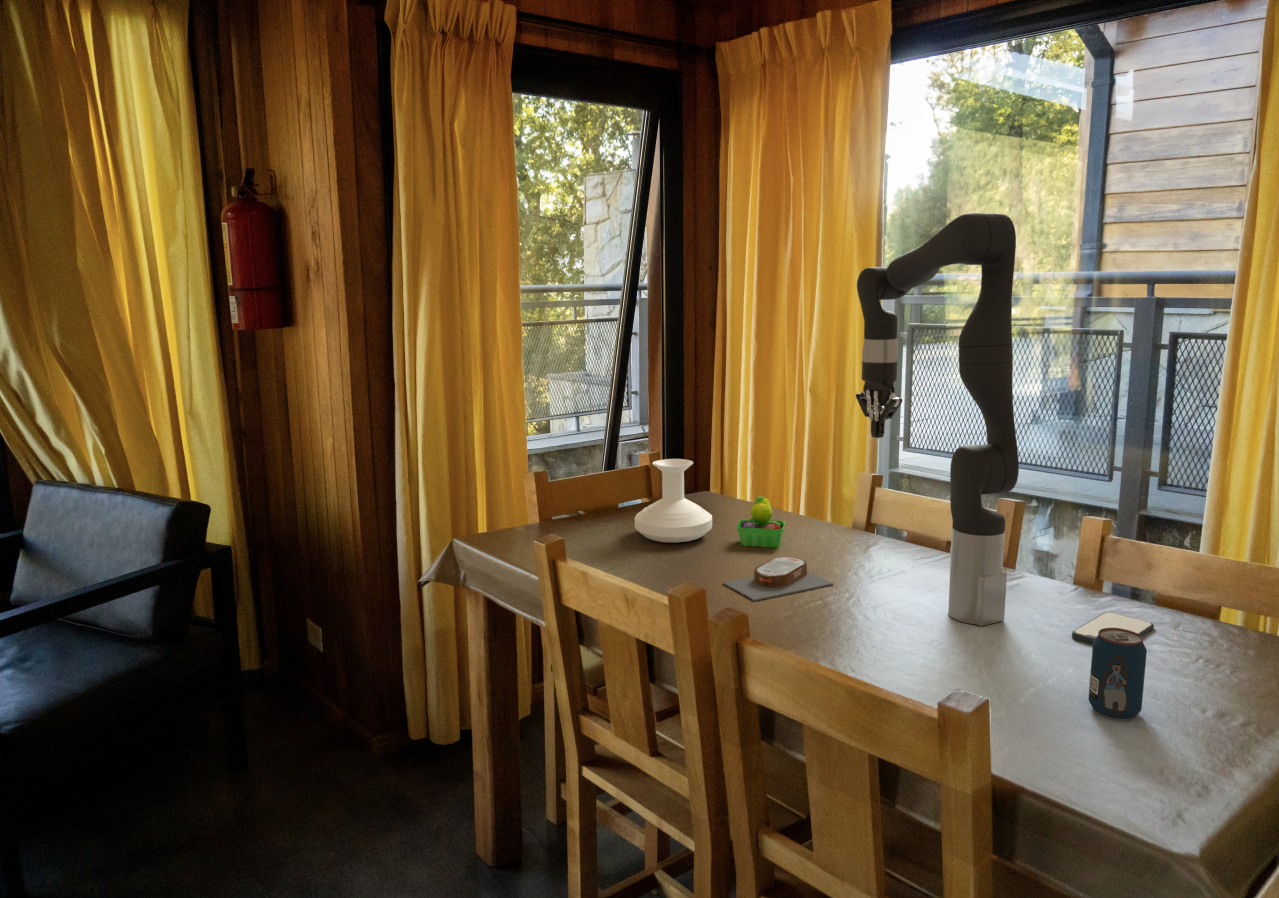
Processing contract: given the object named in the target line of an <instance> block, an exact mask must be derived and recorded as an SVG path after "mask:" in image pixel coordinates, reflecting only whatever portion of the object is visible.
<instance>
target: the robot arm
mask: <svg viewBox="0 0 1279 898" xmlns="http://www.w3.org/2000/svg"><path fill="white" fill-rule="evenodd" d="M1016 249H1017V235H1016V228H1015V225H1014V222H1013V220H1012V218H1010V217H1009V216H1008V215H1007V214H1004V213H994V212H968V213H967V212H966V213H963V214H961V215H959V216H956V218H954V219H952V220H951V221H950V222H948V223H947V224H946V225H944V227H942V228H941V229H939V230H938V232H936V233H935V234H934V235H932V237H930V238H928V240H926V241H925V242H924V243H923V244H921V245H919V246H918V247H916V248H915V249H912V250H910V251H908V252H906V253H904V254H902V255H901V256H897V257H896V258H895V259H893V260H892V261H891V262H890V263H889V264H888V265H887V266H869V267H866V268H864V269H863V270H861V271H860V273H859V275H858V277H857V281H856V290H857V295H858V299H859V302H860V306H861V312H862V317H863V331H864V332H863V343H862V351H861V352H862V353H861V356H862V357H861V380H862V381H863V382H864V384H863V386H862V389H863V390H861V392H859V393H855V397H856V398H855V399H856V400H857V403H858V405H859V407H860V409H861V411H862V413H863V416H864V417H865V418H869V421H870V434H871V437H872V438H875V439H881V438H883V437H884V435H885V428H886V427H885V424H886V421H887V420H891V419H893V417H894V415H895V414H896V412H897V411H898V409H899V408H900V406H901V405H902V403H903V398H902V397H898V396H897V395H896V394H895V393H896V392H895V391H896V389H895V386H894V383H895V382H896V381H897V380H898V379H897V378H898V356H899V353H898V351H899V349H898V348H899V347H898V323H899V322H898V320H899V319H898V315H897V314H896V313H895V312H893V311H890V310H886V309H883V307H882V304H881V301H888V300H889V301H890V300H891V301H892V300H898V299H901V298H903V297H905V296H906V295H907V294H908V293H909V292H910V291H911V290H912V289H914V288H916V287H919V286H920V285H923V284H925V283H928V282H929V281H930V280H932V279H933V278H934V277H935V276H936V275H937V273H938V272H939V270H940V269H941V268H942V267H946V266H951V265H964V266H967V265H968V266H981V281H980V290H979V295H978V298H977V300H976V303H975V304H974V307H973V309H972V311H971V312H970V314H969V315H968V318H967V319H966V321H965V323H964V325H963V327H962V328H961V331H960V333H959V338H958V368H959V369H958V371H959V375H960V376H959V377H960V378H961V381H962V383H963V385H964V387H965V388H966V390H967V391H968V394H970V397H971V398H972V399H973V401H974V402H975V404H976V406H977V407H978V409H979V410H980V413H981V415H982V416H983V419H984V420H983V421H984V424H985V430H986V440H987V441H986V444H971V445H969V444H968V445H962V446H959V447H957V448H956V449H955V451H954V452H953V455H952V456H951V461H950V467H949V468H950V469H949V470H950V471H949V472H950V473H949V478H950V479H949V481H950V504H949V505H950V513H951V518H952V519H951V520H952V525H951V526H952V527H951V528H952V529H951V530H952V531H951V543H950V545H951V546H950V548H951V549H950V565H949V566H950V567H949V568H950V569H949V584H948V585H949V586H948V587H949V589H948V611H947V614H948V615H949V616H950V617H951V618H952V619H953V620H956V621H959V622H961V623H964V624H965V623H966V624H970V625H977V626H979V627H984V626H988V625H991V624H995V623H999V622H1004V621H1005V614H1006V613H1005V611H1006V596H1007V579H1008V573H1007V572H1006V571H1004V570H1003V569H1004V568H1003V567H1004V554H1005V553H1004V550H1005V536H1006V534H1005V533H1006V519H1005V517H1004V514H1001V513H1000V512H998V511H995V510H992V509H988V508H985V507H984V506H983V504H982V495H992V494H1005V493H1009V492H1011V491H1012V490H1013V489H1014V488H1015V487H1016V484H1017V483H1018V479H1019V471H1020V468H1019V467H1020V463H1019V451H1018V442H1017V434H1016V427H1015V426H1016V424H1015V417H1014V416H1015V415H1014V414H1015V413H1014V397H1013V393H1014V392H1013V371H1014V370H1013V369H1014V368H1013V367H1014V365H1013V362H1014V358H1013V357H1014V354H1013V352H1014V351H1013V349H1014V348H1013V334H1012V332H1013V331H1012V324H1013V323H1012V315H1013V312H1012V311H1013V310H1012V309H1013V308H1012V307H1013V304H1012V303H1013V283H1014V274H1015V273H1014V272H1015V260H1016V252H1017V251H1016Z"/></svg>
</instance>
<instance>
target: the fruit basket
mask: <svg viewBox="0 0 1279 898" xmlns="http://www.w3.org/2000/svg"><path fill="white" fill-rule="evenodd" d="M750 512H751V518H750V519H740V520H739V521H738V523H737V525H736V530H737V532H738V535H739V540H740V545H741V546H742V545H744V546H743V547H756V546H760V547H761V546H762V547H763V548H779V547H780V543H781V539H782V536H783V533H784V528H785V524H786V521H785V520H772V517H773V509H772V507H771V502H770V501H769V499H767V498H766V496H757V497H756V499H755V501H754V502H753V504H752V506H751V508H750Z"/></svg>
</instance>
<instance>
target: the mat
mask: <svg viewBox="0 0 1279 898" xmlns="http://www.w3.org/2000/svg"><path fill="white" fill-rule="evenodd" d="M753 579H754V575H753V576H749V577H743V578H739V579H732V580H727V581H723V582H722V584H723V585H724V586H726V587H727V586H728V587H727V588H729V587H730V588H729V589H731V588H732V589H731V590H733V589H734V590H733V591H735V590H736V591H738V592H740V593H742V594H744V595H745V596H747V597H749V598H750V599H749V598H748V599H749V600H751V599H752V600H753V602H758V600H759V601H762V599H764V600H768V599H771V598H776V597H782V596H783V597H784V596H787V595H791V594H797V593H801V592H802V593H803V592H806V591H811V590H817V589H820V588H825V587H829V586H834V582H832V581H829V580H827V579H825V578H823V577H821V576H819V575H816V574H815V573H813V572H810V571H809V570H807V575H806V576H804V577H803V578H801V579H799V580H797V581H796V582H794V583H792V584H791V585H789V586H786V587H780V588H771V587H764V586H760V585H758V584H756V583H755V582H754V581H753ZM736 591H735V592H736ZM738 592H737V593H738ZM740 593H739V594H740ZM742 594H741V595H742ZM744 595H743V596H744ZM745 596H744V597H745ZM747 597H746V598H747ZM752 600H751V601H752Z"/></svg>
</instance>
